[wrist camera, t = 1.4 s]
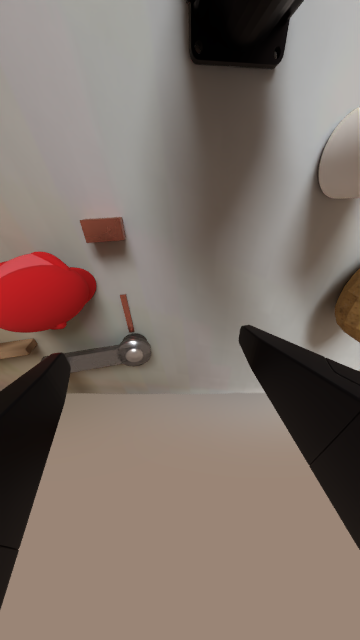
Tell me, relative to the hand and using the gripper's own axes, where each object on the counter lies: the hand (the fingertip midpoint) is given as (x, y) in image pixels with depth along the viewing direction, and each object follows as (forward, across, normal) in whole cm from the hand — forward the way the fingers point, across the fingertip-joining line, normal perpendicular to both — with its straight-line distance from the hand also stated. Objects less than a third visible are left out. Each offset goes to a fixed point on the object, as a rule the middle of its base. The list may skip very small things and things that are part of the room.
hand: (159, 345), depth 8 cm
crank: (+11, +7, +9) cm, 16 cm away
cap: (+12, +9, 0) cm, 15 cm away
